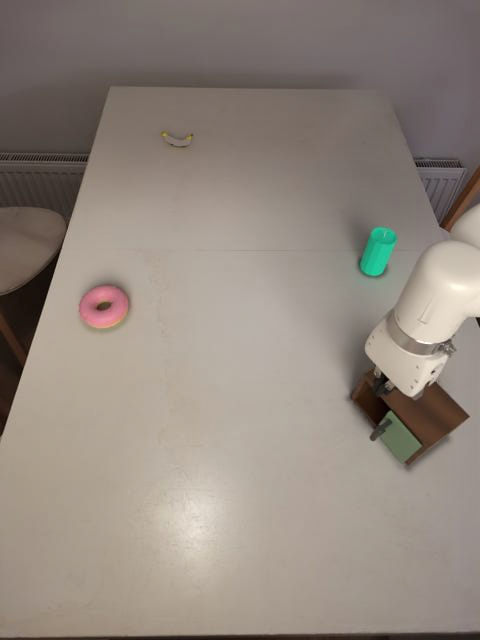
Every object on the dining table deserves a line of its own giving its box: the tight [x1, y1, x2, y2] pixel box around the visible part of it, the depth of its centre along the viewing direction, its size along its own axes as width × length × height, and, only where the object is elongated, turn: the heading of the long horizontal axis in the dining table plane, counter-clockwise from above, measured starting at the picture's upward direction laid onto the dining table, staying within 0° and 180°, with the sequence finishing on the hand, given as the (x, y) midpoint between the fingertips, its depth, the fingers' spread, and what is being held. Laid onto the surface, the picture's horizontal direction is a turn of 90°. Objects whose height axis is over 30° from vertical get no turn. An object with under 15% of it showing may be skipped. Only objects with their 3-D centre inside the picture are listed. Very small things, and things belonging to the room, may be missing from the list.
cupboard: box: [350, 366, 471, 467], centre depth 80 cm, size 10×16×10 cm, turn 33°
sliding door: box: [368, 410, 422, 464], centre depth 76 cm, size 4×7×9 cm, turn 33°
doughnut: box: [77, 284, 130, 329], centre depth 96 cm, size 11×11×4 cm
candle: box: [359, 226, 398, 277], centre depth 102 cm, size 6×6×12 cm
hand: (381, 389), depth 69 cm, fingers closed
